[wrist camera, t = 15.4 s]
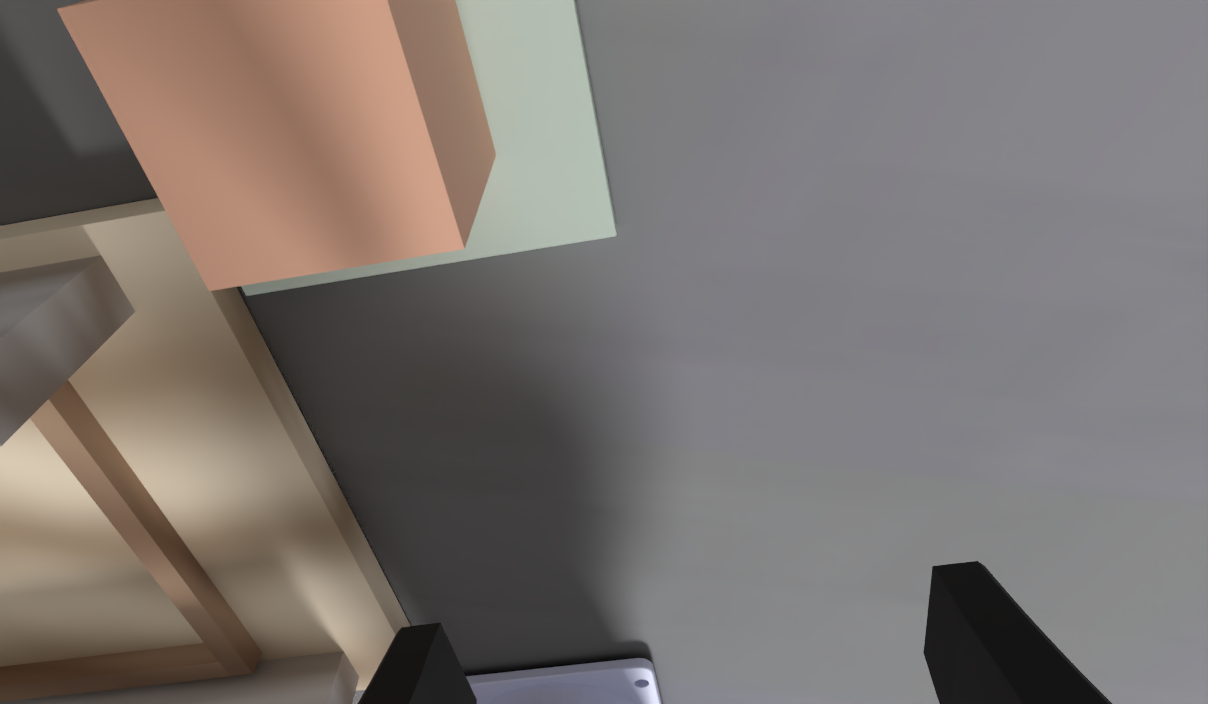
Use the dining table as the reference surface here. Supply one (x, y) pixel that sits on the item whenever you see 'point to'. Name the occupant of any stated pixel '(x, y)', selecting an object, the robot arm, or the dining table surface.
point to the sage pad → (522, 139)
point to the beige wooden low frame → (164, 488)
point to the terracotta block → (296, 126)
